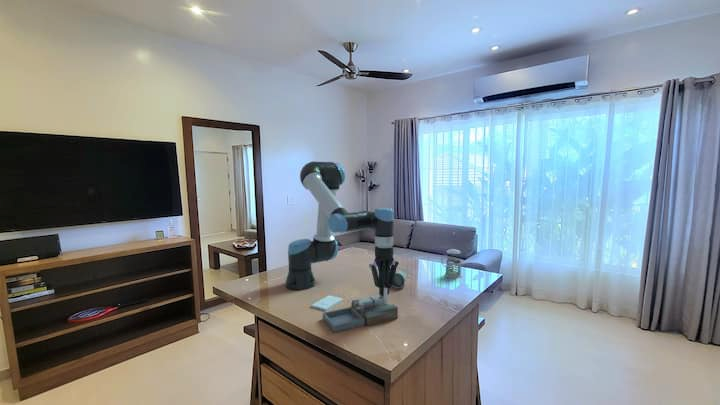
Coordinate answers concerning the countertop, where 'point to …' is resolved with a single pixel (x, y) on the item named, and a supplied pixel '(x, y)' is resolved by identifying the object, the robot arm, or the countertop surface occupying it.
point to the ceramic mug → (399, 279)
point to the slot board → (378, 318)
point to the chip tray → (343, 319)
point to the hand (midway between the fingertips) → (384, 302)
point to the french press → (456, 262)
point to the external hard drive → (327, 303)
